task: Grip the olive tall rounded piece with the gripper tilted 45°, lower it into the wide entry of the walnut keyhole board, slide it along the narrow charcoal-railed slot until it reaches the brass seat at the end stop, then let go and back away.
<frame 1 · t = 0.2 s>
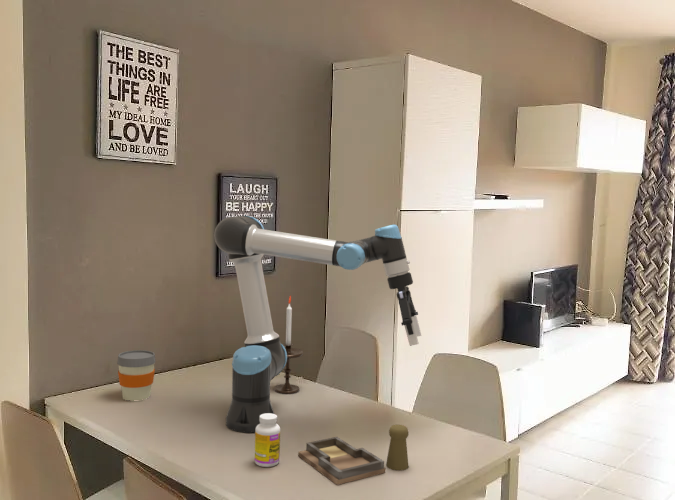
hand: (415, 340, 200), 28 cm above the table, tool tilted 15°, fingers open, 13 cm apart
candlestick: (287, 390, 236), on the table
olive tall rounded piece: (397, 466, 174), on the table
reusable coffee cup: (136, 397, 222), on the table
keyhole board: (340, 464, 174), on the table
supplement bottle: (267, 463, 173), on the table
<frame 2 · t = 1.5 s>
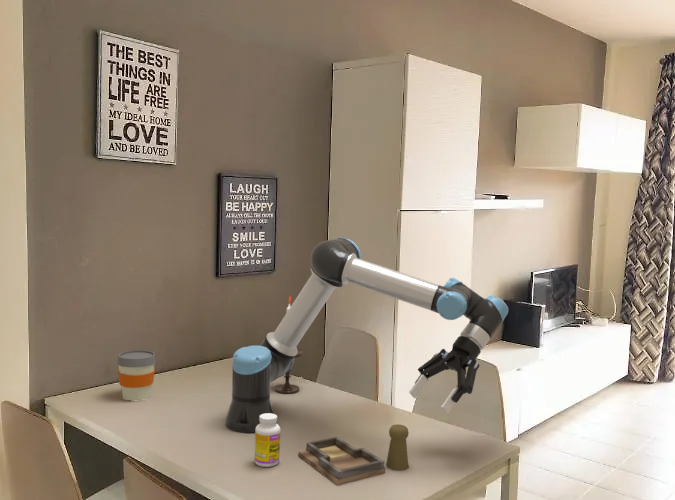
hand: (427, 402, 178), 16 cm above the table, tool tilted 45°, fingers open, 13 cm apart
nothing on the table moved.
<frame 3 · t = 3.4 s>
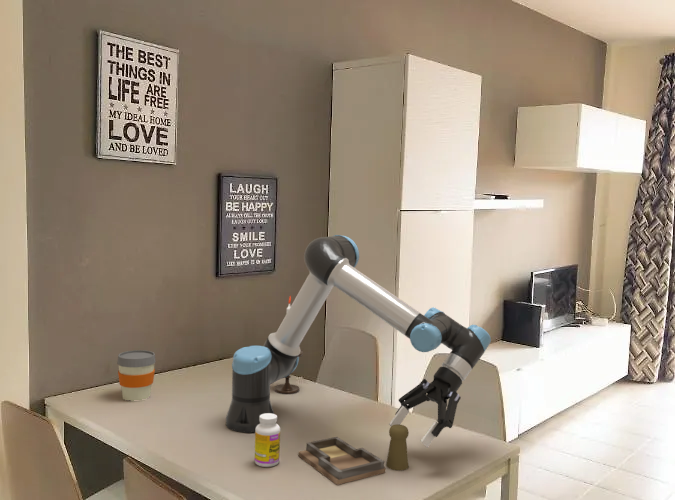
hand: (407, 435, 174), 8 cm above the table, tool tilted 45°, fingers open, 13 cm apart
nothing on the table moved.
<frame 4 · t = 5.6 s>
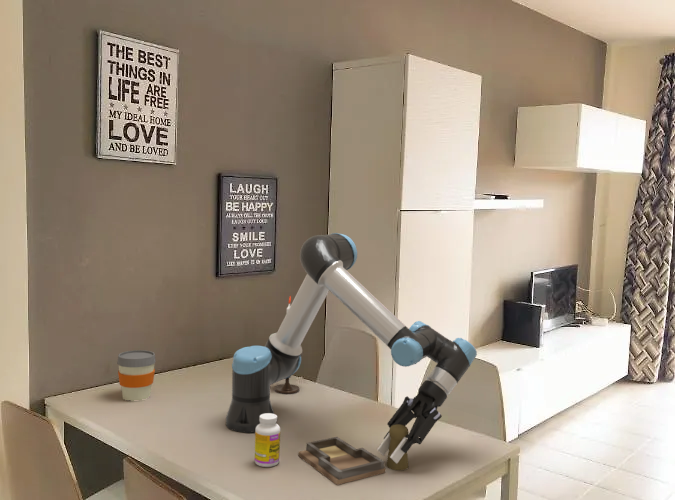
hand: (386, 456, 171), 3 cm above the table, tool tilted 45°, fingers closed on olive tall rounded piece, 5 cm apart
olive tall rounded piece: (397, 466, 174), on the table, touching gripper
everything else where it was.
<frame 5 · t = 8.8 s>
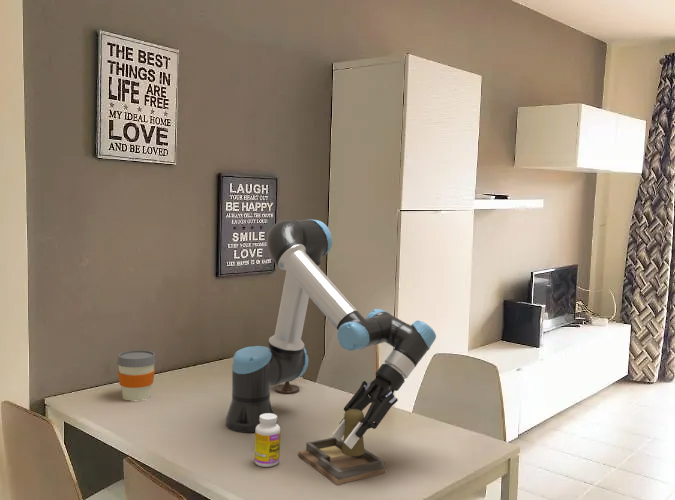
hand: (341, 441, 166), 9 cm above the table, tool tilted 45°, fingers closed on olive tall rounded piece, 5 cm apart
olive tall rounded piece: (353, 452, 169), point 5 cm above the table, touching gripper
everything else where it was.
when the fingers open (5 cm above the table, at t = 12.2 s): olive tall rounded piece stays where it is, resting on keyhole board.
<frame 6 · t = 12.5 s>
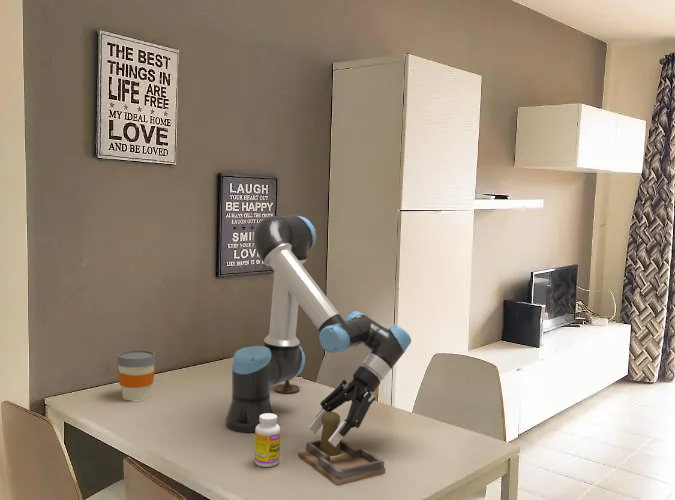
hand: (321, 437, 176), 6 cm above the table, tool tilted 45°, fingers open, 10 cm apart
olive tall rounded piece: (329, 452, 178), point 1 cm above the table, touching keyhole board
everything else where it was.
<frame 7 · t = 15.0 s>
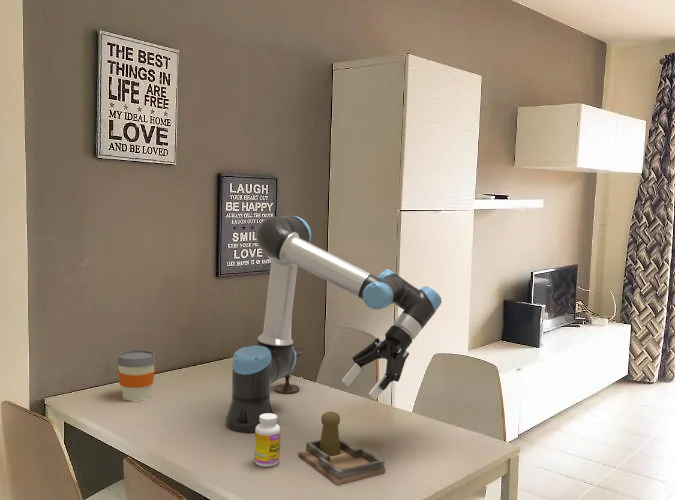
hand: (357, 390, 181), 18 cm above the table, tool tilted 45°, fingers open, 13 cm apart
nothing on the table moved.
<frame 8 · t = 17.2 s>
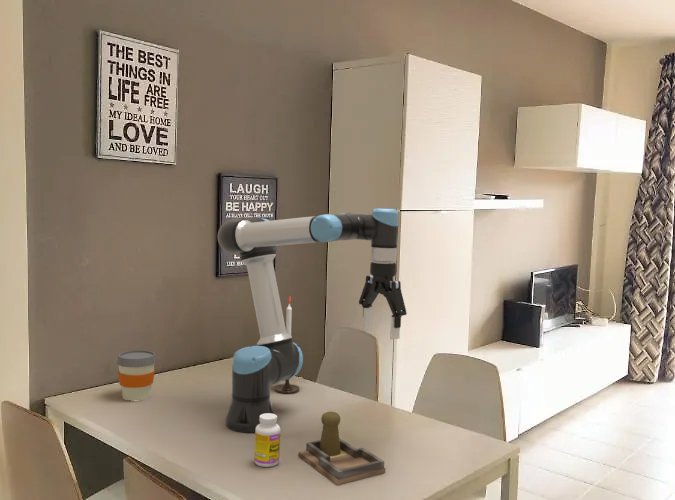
hand: (380, 334, 189), 32 cm above the table, tool pointing down, fingers open, 13 cm apart
nothing on the table moved.
at the end: olive tall rounded piece 0.3 cm from the target spot on the keyhole board, point 1.0 cm above the keyhole board's base; olive tall rounded piece tilted 0°; the gripper is holding nothing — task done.
